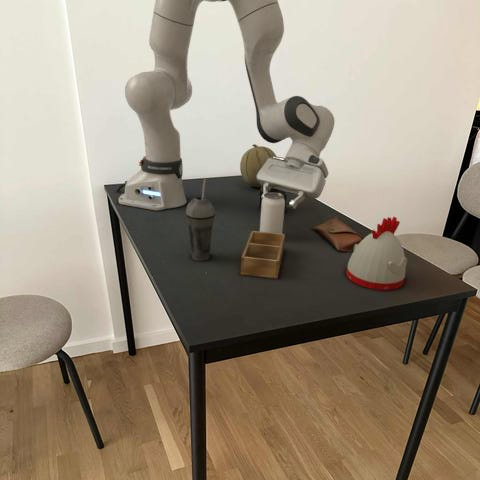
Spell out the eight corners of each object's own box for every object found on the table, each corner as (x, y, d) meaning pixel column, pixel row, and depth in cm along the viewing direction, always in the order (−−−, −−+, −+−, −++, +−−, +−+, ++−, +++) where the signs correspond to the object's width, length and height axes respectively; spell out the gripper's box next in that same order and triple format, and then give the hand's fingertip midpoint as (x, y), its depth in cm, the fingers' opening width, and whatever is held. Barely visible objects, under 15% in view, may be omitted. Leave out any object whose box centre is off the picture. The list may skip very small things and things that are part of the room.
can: (280, 241, 129) (284, 200, 123) (257, 239, 130) (260, 197, 124) (283, 233, 134) (286, 193, 128) (261, 231, 135) (264, 190, 129)
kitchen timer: (415, 281, 112) (431, 223, 104) (376, 295, 105) (390, 233, 97) (373, 260, 121) (385, 204, 113) (334, 271, 115) (344, 213, 107)
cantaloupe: (274, 194, 166) (277, 151, 158) (235, 189, 169) (236, 147, 161) (280, 183, 178) (284, 143, 170) (244, 179, 181) (245, 139, 173)
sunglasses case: (310, 227, 138) (323, 208, 136) (326, 236, 142) (339, 218, 140) (338, 251, 124) (353, 230, 122) (355, 261, 128) (370, 241, 125)
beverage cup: (182, 253, 120) (180, 176, 109) (208, 249, 122) (209, 174, 112) (191, 264, 114) (190, 184, 104) (218, 261, 117) (220, 182, 106)
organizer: (240, 274, 111) (241, 257, 108) (250, 246, 126) (251, 230, 123) (277, 278, 110) (279, 261, 107) (283, 249, 124) (285, 234, 122)
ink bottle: (285, 205, 156) (288, 169, 150) (288, 213, 149) (292, 176, 143) (256, 204, 156) (259, 168, 150) (258, 213, 149) (261, 175, 142)
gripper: (266, 148, 133) (244, 188, 131) (328, 161, 122) (305, 205, 121) (273, 161, 138) (252, 200, 137) (333, 175, 128) (311, 217, 126)
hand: (277, 203), depth 129 cm, fingers open, 8 cm apart
